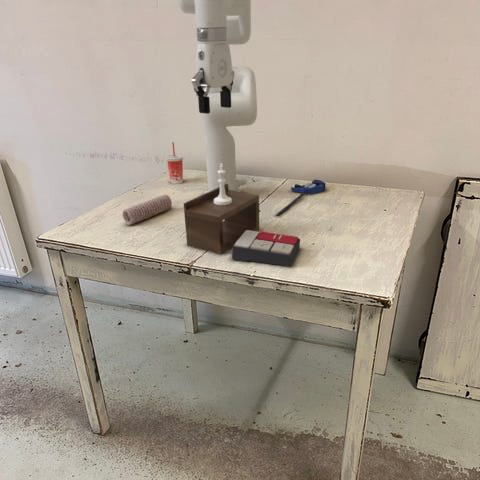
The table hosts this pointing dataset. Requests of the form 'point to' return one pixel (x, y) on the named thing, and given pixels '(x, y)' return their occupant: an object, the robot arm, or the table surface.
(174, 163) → the beverage cup
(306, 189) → the bar clamp
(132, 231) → the table surface
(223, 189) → the chess piece
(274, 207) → the table surface
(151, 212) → the coil
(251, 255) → the grey and red box
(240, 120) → the robot arm
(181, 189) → the table surface
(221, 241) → the brown wooden cabinet
